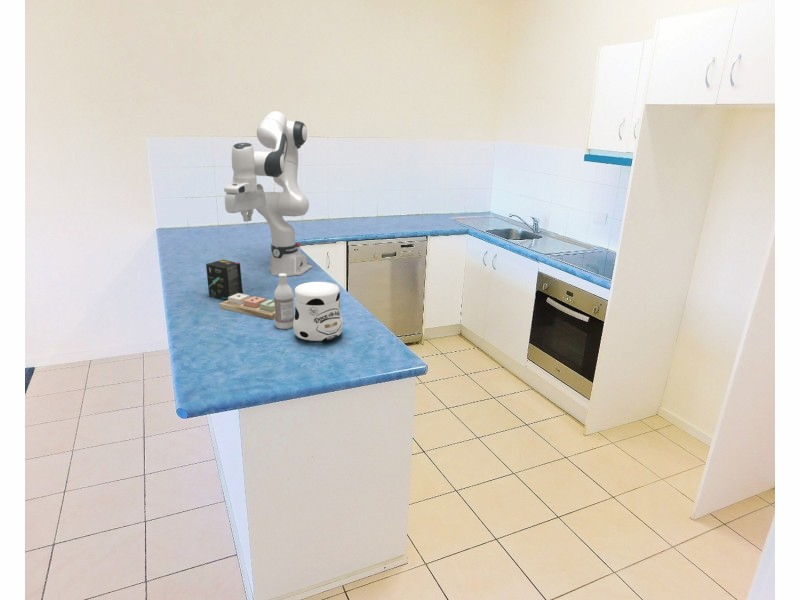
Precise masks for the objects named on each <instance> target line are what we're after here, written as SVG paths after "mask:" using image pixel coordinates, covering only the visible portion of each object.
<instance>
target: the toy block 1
mask: <svg viewBox="0 0 800 600" xmlns="http://www.w3.org/2000/svg"><path fill="white" fill-rule="evenodd" d="M250 297H251V296H250V294H245V293H243V294H240V293H237V294H235V295H232V296H230V297H228V303H232V304H237V305H242V304H244V300H246V299H248V298H250Z"/></svg>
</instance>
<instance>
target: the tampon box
mask: <svg viewBox="0 0 800 600" xmlns="http://www.w3.org/2000/svg"><path fill="white" fill-rule="evenodd" d="M205 266H206V276H207V286H208V296H209V298H213V299H218V300H221V301H223V302H224V301H227V300H228V297H230V296H232V295H235V294H237V293H240V294H244V291H243V290H244V289H243V281H242V280H243V279H242V271H241V263H240V262H235V261H230V260H226V259H220V260H216V261H213V262H209V263H206V264H205Z"/></svg>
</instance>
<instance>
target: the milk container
mask: <svg viewBox="0 0 800 600" xmlns="http://www.w3.org/2000/svg"><path fill="white" fill-rule="evenodd" d="M340 291H341V290H340V287H339V286H338V285H337V284H336V283H333V282H328V281H309V282H305V283H300V284H298V285H297V286H296V287H295V288H294V321H293V327H292V328H293V331H294V335H295V336H296V337H297V338H299V339H300V340H303V341H305V342H311V343H323V342H329V341H332V340H334V339H336V338H337V337H339V336H340V335H341V333H342V331H343V327H344V325H343V324H344V321H343V317H342V314H341V313H342V312H341V292H340Z"/></svg>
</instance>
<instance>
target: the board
mask: <svg viewBox="0 0 800 600" xmlns="http://www.w3.org/2000/svg"><path fill="white" fill-rule="evenodd" d="M251 297H252V296H250V298H251ZM218 305H219V309H221V310H226V311H230V312H235V313H239V314H244V315H248V316H253V317H258V318H262V319H267V320H271V321H273V320H275V311H274V312H269V311H265V310H260V307H259V308H257V309H255V308H251V307H246V306H244V304H242V305H237V304H232V303H228V300H227V301H224V300H223V301H222V302H220V303H218Z"/></svg>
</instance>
